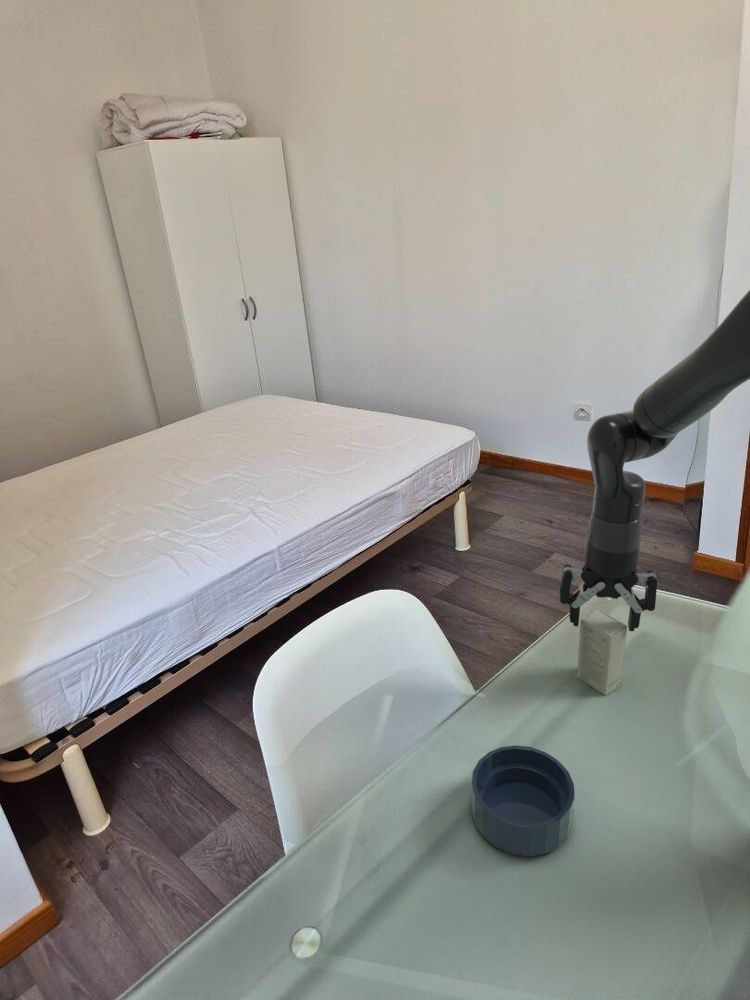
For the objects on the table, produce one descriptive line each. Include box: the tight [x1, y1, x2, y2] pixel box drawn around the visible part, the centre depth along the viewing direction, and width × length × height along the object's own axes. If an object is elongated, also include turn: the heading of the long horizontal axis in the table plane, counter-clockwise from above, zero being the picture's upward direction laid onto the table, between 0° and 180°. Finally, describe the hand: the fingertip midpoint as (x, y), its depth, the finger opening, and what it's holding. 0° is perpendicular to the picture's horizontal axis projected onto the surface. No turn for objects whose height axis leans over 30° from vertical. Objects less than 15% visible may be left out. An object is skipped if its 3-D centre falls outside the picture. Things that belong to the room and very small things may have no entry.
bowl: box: [470, 745, 575, 857], centre depth 92 cm, size 13×13×6 cm
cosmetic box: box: [576, 609, 628, 696], centre depth 113 cm, size 6×4×12 cm
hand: (603, 625), depth 111 cm, fingers open, 8 cm apart
